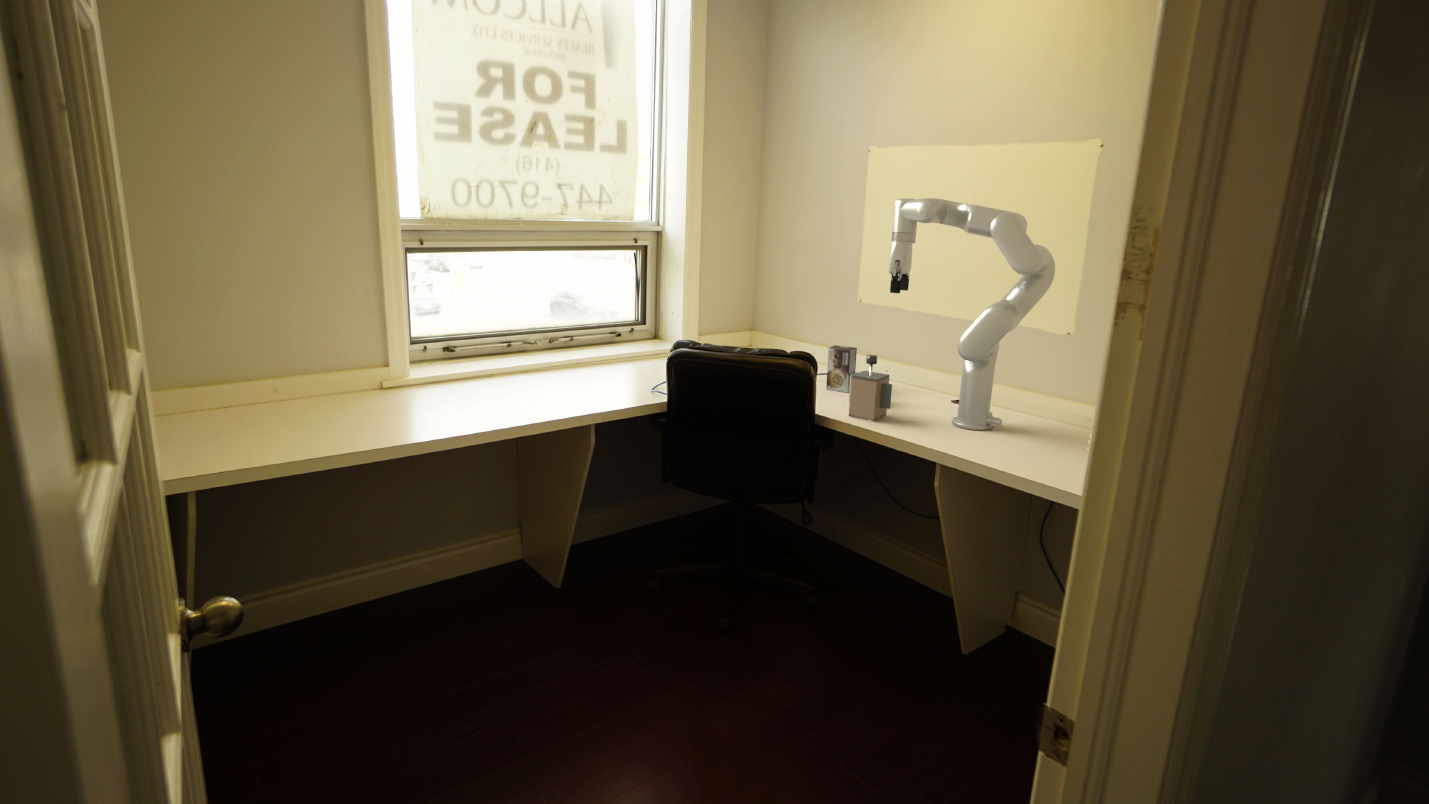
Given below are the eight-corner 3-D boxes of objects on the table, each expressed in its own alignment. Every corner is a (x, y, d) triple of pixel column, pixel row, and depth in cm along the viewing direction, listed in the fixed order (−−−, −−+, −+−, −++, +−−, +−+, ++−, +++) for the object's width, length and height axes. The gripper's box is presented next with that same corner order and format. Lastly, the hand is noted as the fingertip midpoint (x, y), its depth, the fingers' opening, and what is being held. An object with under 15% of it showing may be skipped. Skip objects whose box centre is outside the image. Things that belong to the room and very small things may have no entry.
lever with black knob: (880, 405, 254) (884, 355, 250) (872, 409, 250) (876, 358, 245) (864, 402, 258) (868, 353, 254) (855, 406, 253) (859, 355, 249)
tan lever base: (894, 417, 254) (897, 376, 250) (881, 423, 247) (885, 380, 243) (861, 410, 261) (864, 370, 257) (848, 416, 254) (851, 374, 250)
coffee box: (854, 389, 290) (857, 347, 286) (848, 393, 284) (851, 350, 280) (832, 386, 294) (835, 344, 290) (825, 389, 289) (827, 347, 285)
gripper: (899, 236, 257) (895, 288, 261) (884, 238, 242) (880, 293, 247) (921, 237, 254) (917, 290, 258) (908, 239, 239) (903, 295, 243)
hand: (899, 291), depth 252 cm, fingers open, 9 cm apart
